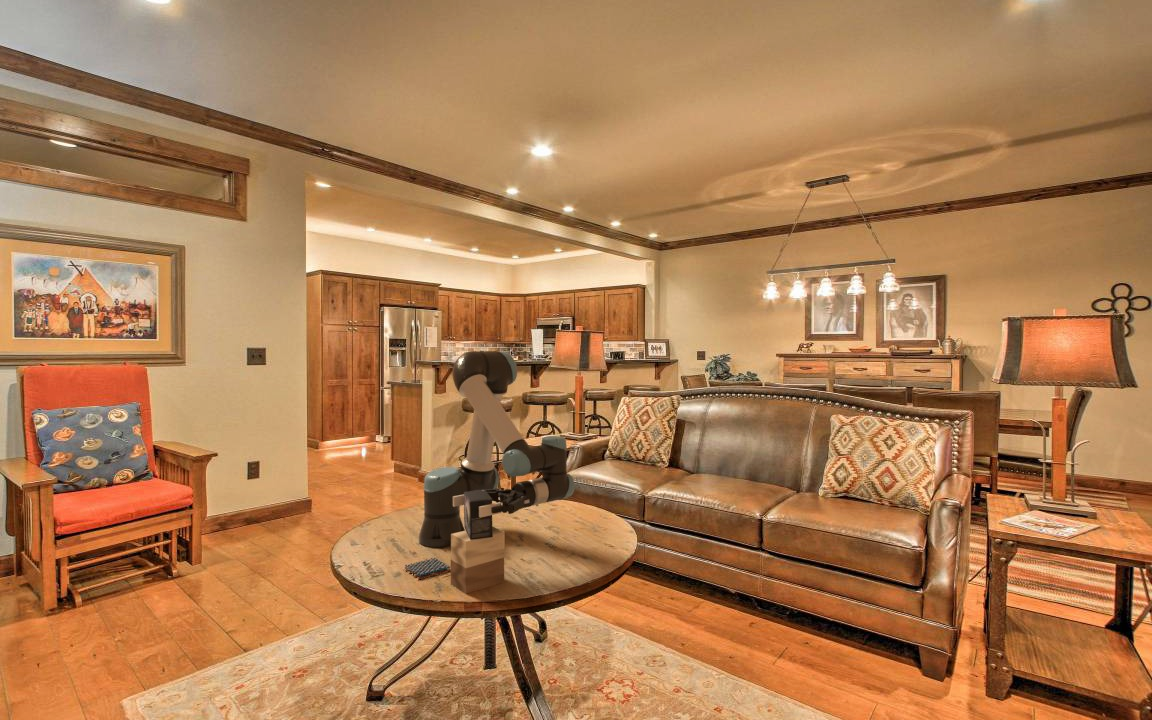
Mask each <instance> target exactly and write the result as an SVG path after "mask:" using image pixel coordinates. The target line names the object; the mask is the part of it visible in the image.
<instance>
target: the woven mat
mask: <svg viewBox="0 0 1152 720" xmlns="http://www.w3.org/2000/svg"><path fill="white" fill-rule="evenodd" d="M405 569H406V570H405ZM404 570H405V572H406V571H407V572H408V573H407V574H409V573H412V574H414V576H413V575H412V577H413V578H417V579H418V581H420V580H419V579H421V580H424V579H427V577H428V578H431V577H430V576H432V577H435V576H438V575H437V574H439V575H442V574H445V572H446V573H449V572H450V573H451V565H449V564H447V563H445V562H443V561H442V560H440V559H438V558H437V557H434V558H433V557H431V558H429V559H425V560H421V561H418V562H417V561H416V562H414V563H412V562H411V563H410V564H405V567H404ZM441 573H442V574H441ZM423 576H424V577H423ZM417 579H416V580H417Z"/></svg>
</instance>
